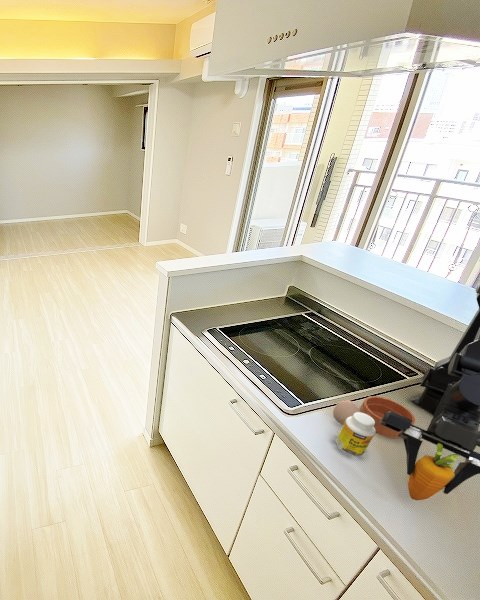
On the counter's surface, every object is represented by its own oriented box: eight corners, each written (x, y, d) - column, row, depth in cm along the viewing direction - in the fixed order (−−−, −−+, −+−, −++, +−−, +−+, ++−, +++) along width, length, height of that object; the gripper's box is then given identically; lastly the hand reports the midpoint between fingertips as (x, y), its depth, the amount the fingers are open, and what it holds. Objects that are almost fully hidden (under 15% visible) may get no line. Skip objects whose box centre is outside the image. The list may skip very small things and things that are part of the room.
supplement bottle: (340, 455, 79) (355, 425, 74) (331, 436, 84) (345, 407, 79) (367, 460, 78) (384, 430, 73) (357, 440, 83) (372, 411, 78)
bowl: (373, 405, 92) (380, 392, 90) (416, 432, 84) (424, 418, 82) (348, 415, 90) (355, 402, 87) (389, 444, 81) (398, 430, 79)
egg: (327, 413, 91) (335, 393, 87) (349, 417, 89) (359, 397, 86) (333, 428, 86) (342, 407, 83) (357, 432, 85) (368, 412, 81)
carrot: (398, 482, 70) (430, 434, 63) (430, 498, 67) (467, 450, 60) (395, 499, 67) (428, 451, 60) (428, 516, 64) (467, 468, 57)
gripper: (403, 381, 65) (369, 451, 64) (558, 438, 52) (519, 527, 51) (395, 390, 73) (364, 453, 72) (527, 442, 60) (493, 519, 59)
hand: (426, 483), depth 63 cm, fingers closed on carrot, 5 cm apart
